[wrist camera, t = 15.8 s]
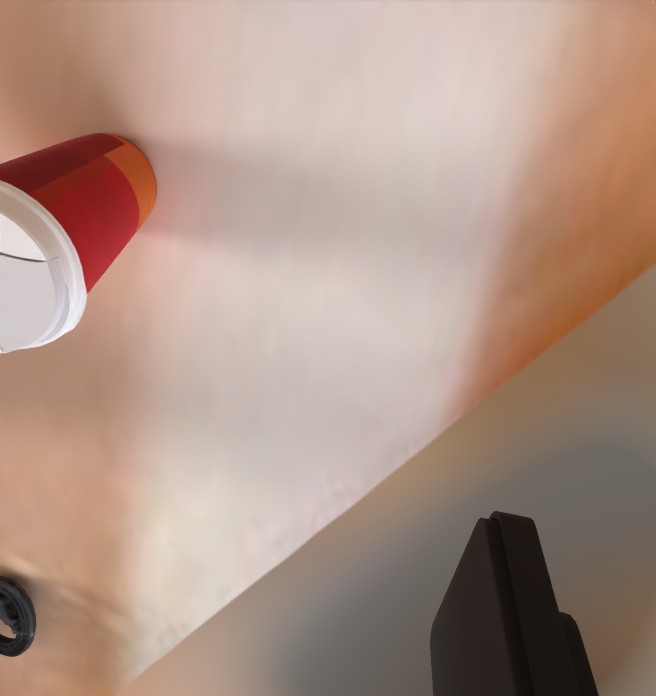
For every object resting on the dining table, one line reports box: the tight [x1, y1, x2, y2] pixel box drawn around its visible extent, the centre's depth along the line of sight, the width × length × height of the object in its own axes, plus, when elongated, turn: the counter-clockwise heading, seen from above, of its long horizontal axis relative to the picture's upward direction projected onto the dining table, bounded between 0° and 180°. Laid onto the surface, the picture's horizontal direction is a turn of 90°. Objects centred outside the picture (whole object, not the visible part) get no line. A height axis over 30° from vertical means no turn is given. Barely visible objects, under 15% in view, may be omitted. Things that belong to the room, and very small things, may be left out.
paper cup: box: [0, 133, 157, 353], centre depth 30 cm, size 8×8×14 cm
